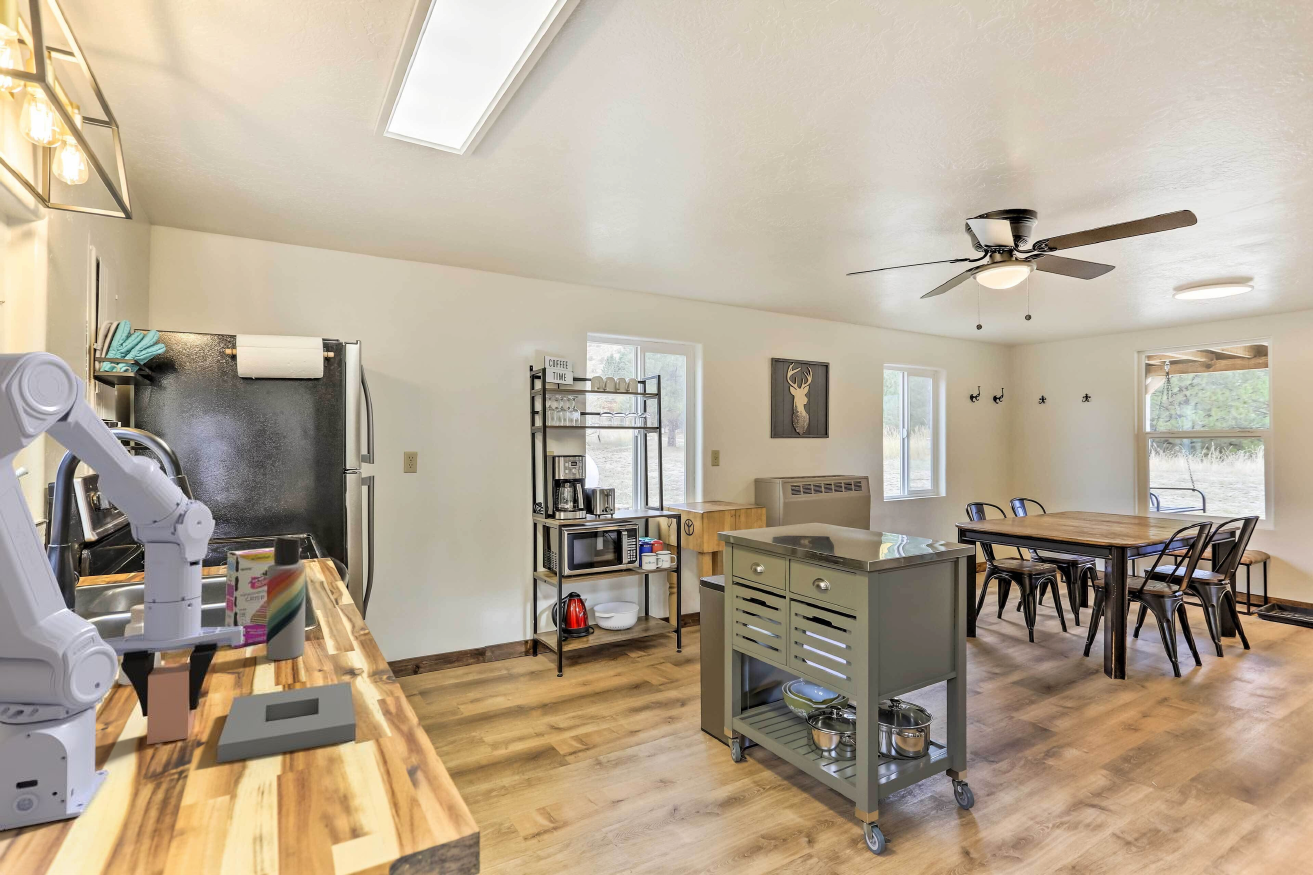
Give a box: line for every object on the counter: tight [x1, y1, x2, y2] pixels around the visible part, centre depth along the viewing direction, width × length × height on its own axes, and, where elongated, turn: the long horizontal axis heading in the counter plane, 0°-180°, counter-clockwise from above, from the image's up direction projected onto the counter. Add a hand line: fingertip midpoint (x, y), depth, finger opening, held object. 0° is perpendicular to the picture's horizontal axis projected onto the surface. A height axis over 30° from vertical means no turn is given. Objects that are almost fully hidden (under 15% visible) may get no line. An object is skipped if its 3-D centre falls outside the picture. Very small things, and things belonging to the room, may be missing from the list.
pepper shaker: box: [117, 604, 163, 686], centre depth 102 cm, size 5×5×11 cm
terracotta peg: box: [146, 661, 195, 745], centre depth 83 cm, size 4×4×8 cm
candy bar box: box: [224, 547, 303, 649], centre depth 123 cm, size 11×5×16 cm, turn 141°
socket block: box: [217, 681, 357, 764], centre depth 86 cm, size 16×14×2 cm
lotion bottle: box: [265, 535, 307, 661], centre depth 114 cm, size 6×6×20 cm
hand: (171, 710), depth 83 cm, fingers closed on terracotta peg, 4 cm apart
